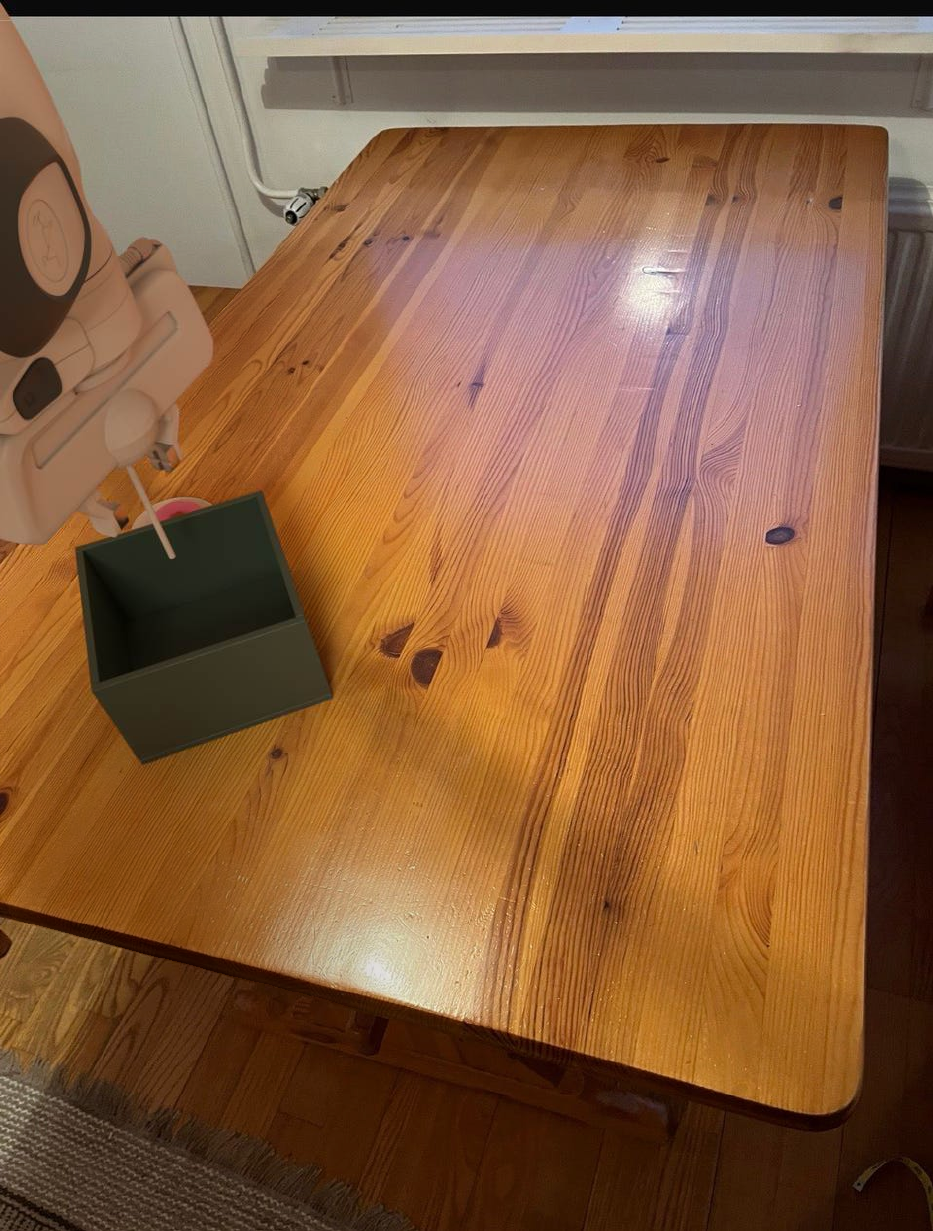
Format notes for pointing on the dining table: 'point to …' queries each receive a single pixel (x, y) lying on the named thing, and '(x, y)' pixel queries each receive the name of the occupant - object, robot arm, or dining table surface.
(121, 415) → the lollipop
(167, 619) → the bin
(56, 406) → the robot arm
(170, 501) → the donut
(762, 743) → the dining table surface
